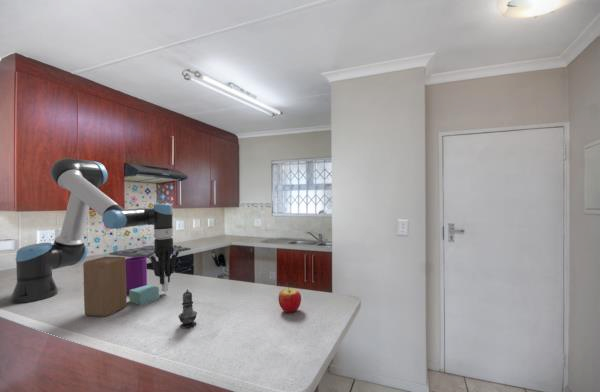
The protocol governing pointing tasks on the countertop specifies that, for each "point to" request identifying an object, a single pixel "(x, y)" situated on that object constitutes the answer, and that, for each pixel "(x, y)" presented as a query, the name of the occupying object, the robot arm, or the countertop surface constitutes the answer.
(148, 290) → the teal block
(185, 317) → the grey chess piece
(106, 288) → the wooden block
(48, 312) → the countertop surface
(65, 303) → the countertop surface
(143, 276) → the mug
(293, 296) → the apple
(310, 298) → the countertop surface
